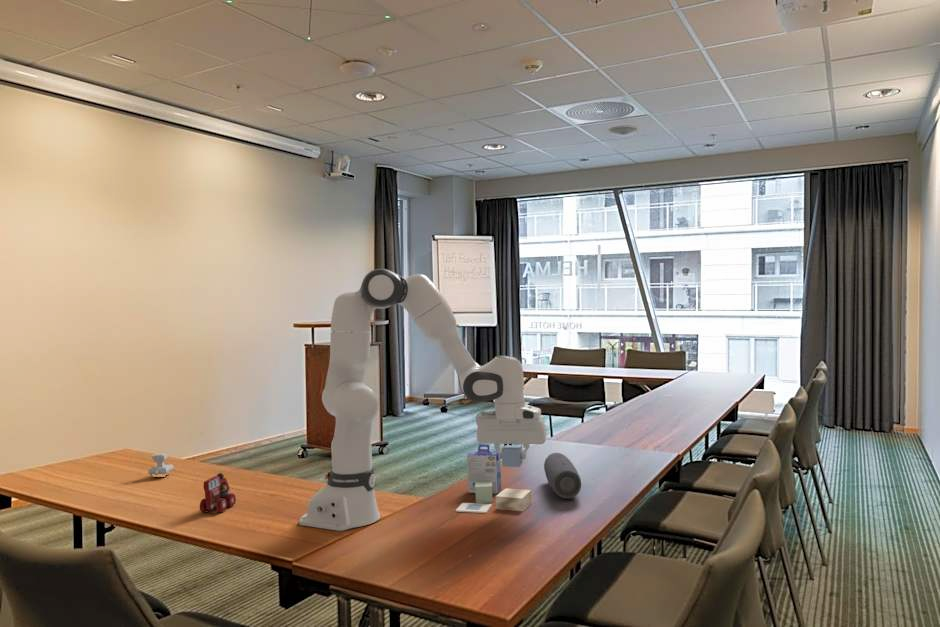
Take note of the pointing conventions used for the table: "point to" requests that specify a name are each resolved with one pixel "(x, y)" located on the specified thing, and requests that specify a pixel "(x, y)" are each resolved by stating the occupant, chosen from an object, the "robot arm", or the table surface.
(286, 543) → the table surface
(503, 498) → the birch base
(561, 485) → the bluetooth speaker
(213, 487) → the toy fire truck
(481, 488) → the green cube
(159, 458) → the stamp
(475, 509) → the swatch card
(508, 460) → the blue cube
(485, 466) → the ink cartridge box
